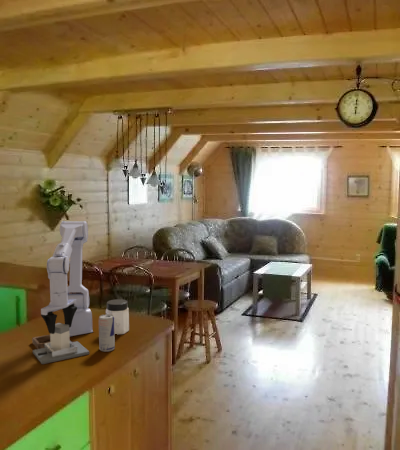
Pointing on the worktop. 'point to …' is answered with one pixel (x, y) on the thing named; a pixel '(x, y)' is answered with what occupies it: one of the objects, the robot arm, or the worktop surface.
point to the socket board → (59, 352)
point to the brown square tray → (40, 339)
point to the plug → (60, 337)
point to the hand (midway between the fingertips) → (60, 330)
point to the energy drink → (106, 333)
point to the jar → (119, 315)
